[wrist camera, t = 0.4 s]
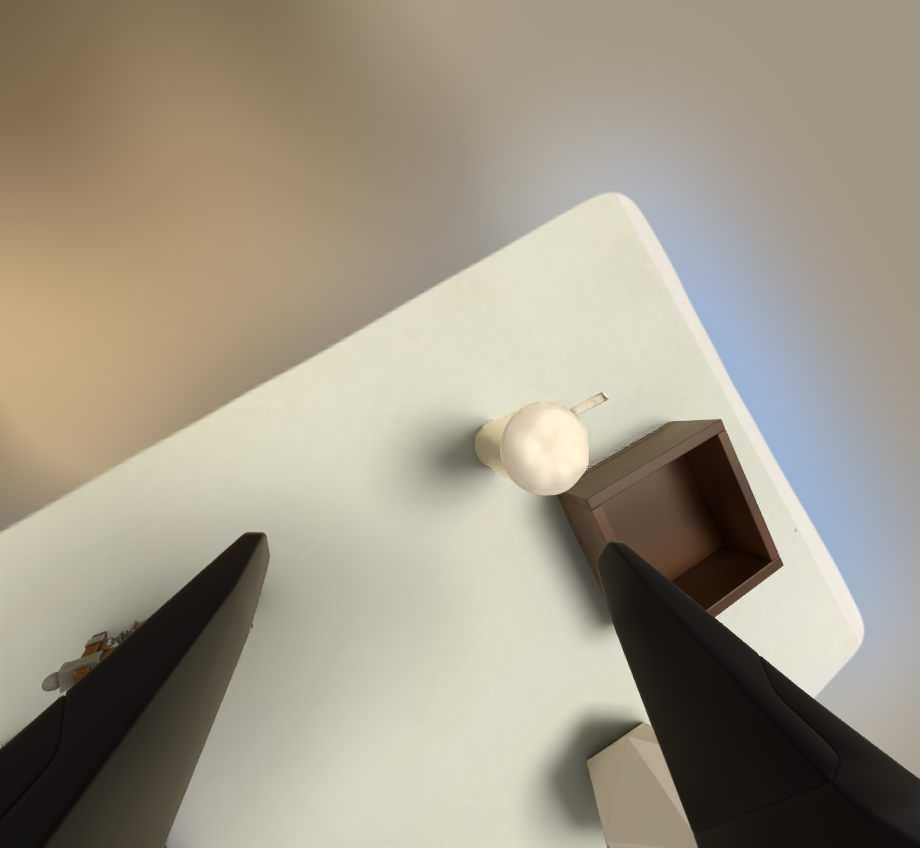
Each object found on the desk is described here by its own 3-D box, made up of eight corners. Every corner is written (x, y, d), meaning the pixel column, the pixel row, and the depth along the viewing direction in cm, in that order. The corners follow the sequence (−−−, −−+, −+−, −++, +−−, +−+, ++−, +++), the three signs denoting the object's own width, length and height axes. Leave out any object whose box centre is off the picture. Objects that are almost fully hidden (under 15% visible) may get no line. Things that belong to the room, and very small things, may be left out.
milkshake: (543, 430, 25) (641, 427, 15) (500, 488, 24) (574, 524, 15) (497, 390, 24) (569, 361, 15) (451, 449, 24) (495, 458, 14)
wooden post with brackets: (68, 632, 18) (31, 675, 15) (244, 576, 23) (249, 598, 19) (73, 665, 18) (36, 717, 15) (247, 602, 23) (253, 629, 19)
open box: (726, 546, 28) (784, 565, 24) (616, 623, 26) (659, 659, 22) (671, 421, 27) (721, 418, 23) (553, 488, 25) (585, 499, 21)
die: (582, 836, 26) (759, 991, 19) (547, 837, 20) (773, 1050, 14) (613, 708, 30) (767, 799, 23) (590, 682, 25) (780, 789, 18)
